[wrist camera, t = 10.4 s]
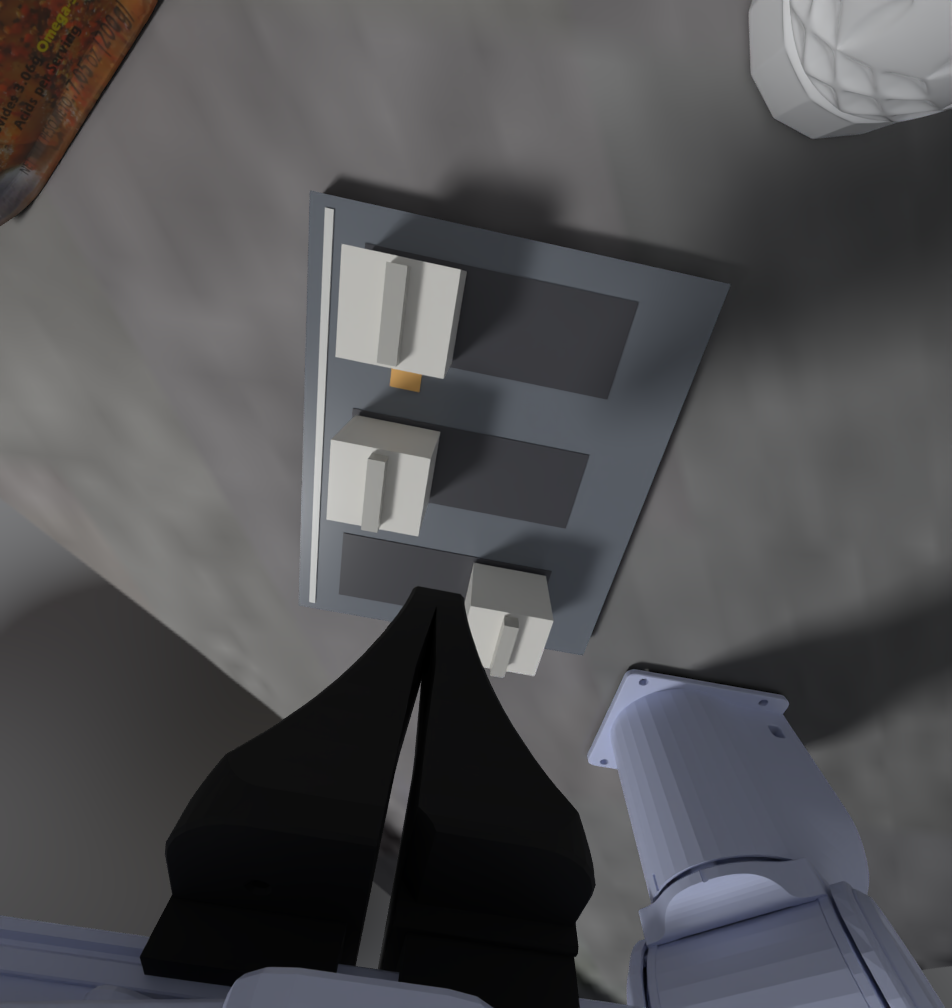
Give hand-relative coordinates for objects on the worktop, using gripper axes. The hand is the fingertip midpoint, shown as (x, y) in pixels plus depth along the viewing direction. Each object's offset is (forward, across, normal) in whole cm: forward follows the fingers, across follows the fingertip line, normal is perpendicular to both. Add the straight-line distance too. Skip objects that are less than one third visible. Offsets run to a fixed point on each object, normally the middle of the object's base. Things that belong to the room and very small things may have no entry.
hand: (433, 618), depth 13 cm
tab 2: (+8, +3, -1) cm, 9 cm away
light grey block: (+8, -3, +5) cm, 10 cm away
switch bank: (+9, -1, -1) cm, 9 cm away
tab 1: (+8, +3, -7) cm, 11 cm away
